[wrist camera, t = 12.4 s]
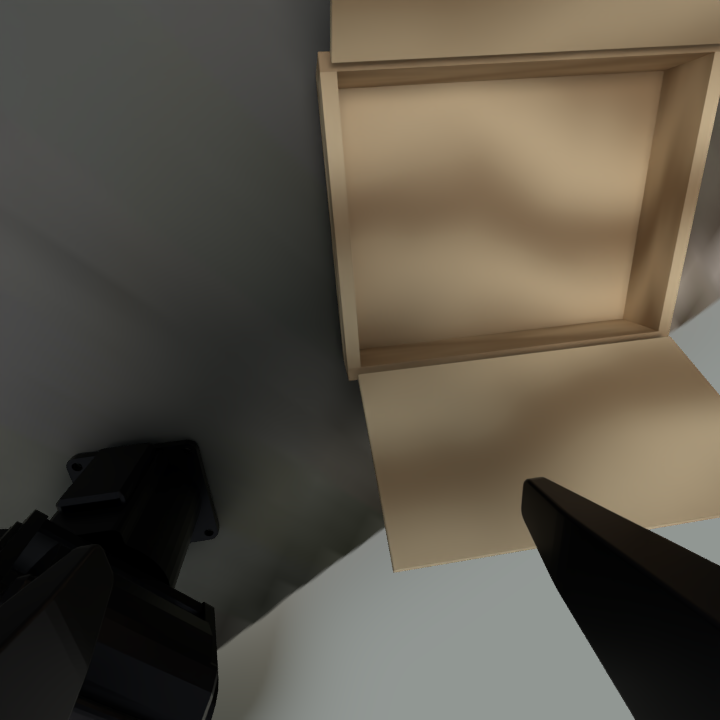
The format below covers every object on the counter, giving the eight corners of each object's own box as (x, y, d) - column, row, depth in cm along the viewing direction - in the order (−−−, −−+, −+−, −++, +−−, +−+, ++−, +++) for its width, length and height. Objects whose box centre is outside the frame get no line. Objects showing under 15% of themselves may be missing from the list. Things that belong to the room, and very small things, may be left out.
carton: (625, 325, 23) (667, 341, 20) (343, 359, 21) (348, 380, 19) (672, 56, 18) (733, 32, 16) (315, 75, 17) (317, 51, 14)
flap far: (670, 336, 20) (664, 343, 20) (358, 374, 18) (358, 381, 19) (807, 500, 15) (795, 504, 15) (394, 570, 13) (393, 573, 14)
